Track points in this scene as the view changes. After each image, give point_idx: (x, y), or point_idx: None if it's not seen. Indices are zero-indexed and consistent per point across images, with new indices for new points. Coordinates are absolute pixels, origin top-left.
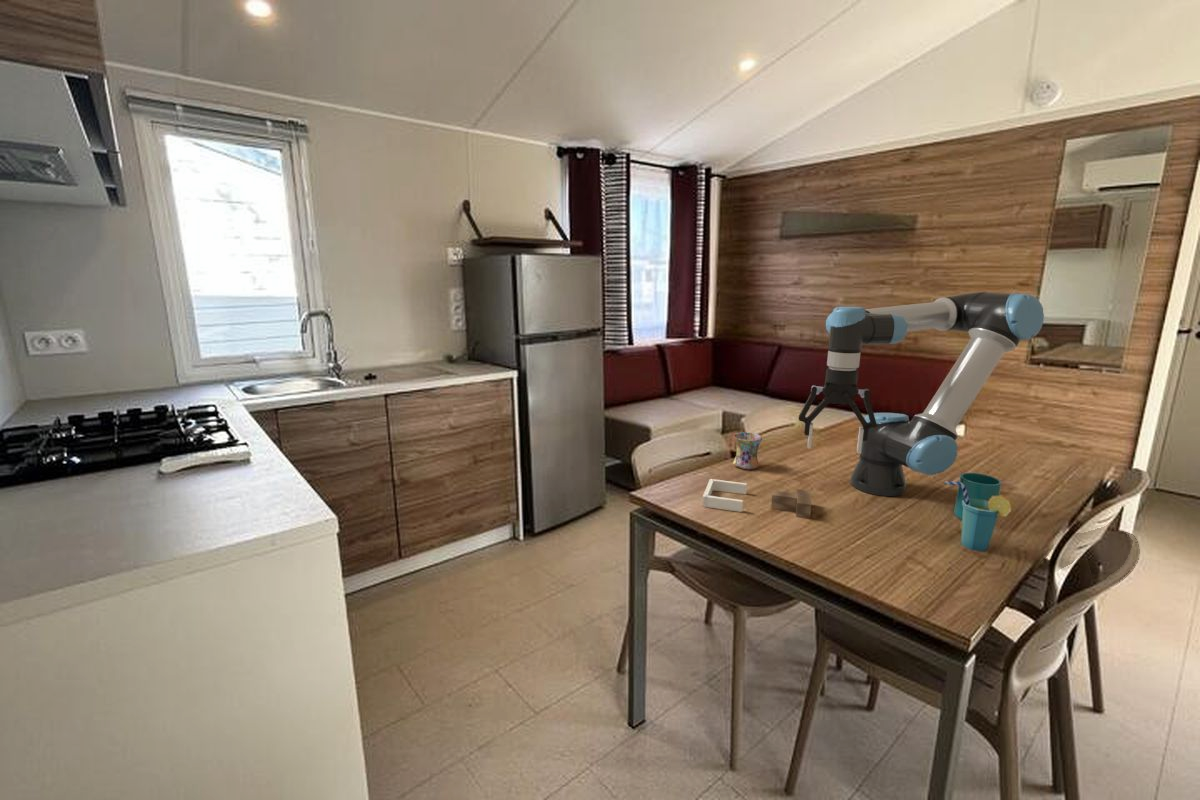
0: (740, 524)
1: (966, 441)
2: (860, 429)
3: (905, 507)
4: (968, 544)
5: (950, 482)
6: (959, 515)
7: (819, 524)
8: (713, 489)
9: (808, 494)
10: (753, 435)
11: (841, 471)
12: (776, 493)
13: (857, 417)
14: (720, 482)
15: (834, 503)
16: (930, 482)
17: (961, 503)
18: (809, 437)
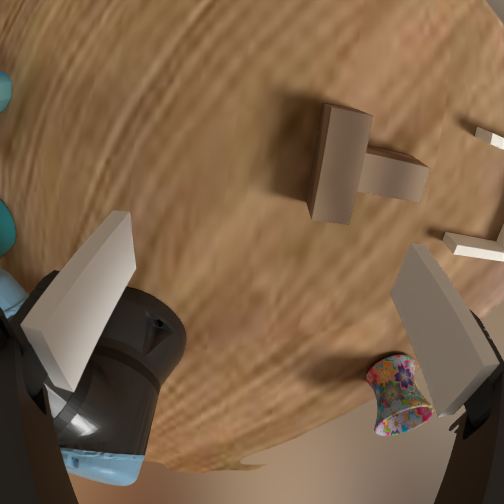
0: (484, 60)
1: None
2: (44, 334)
3: (82, 239)
4: (2, 75)
5: None
6: (5, 212)
7: (301, 70)
8: (496, 242)
9: (323, 191)
10: (384, 431)
11: (201, 380)
12: (416, 181)
13: (25, 455)
14: (497, 250)
15: (235, 222)
16: None
17: None
18: (452, 289)
